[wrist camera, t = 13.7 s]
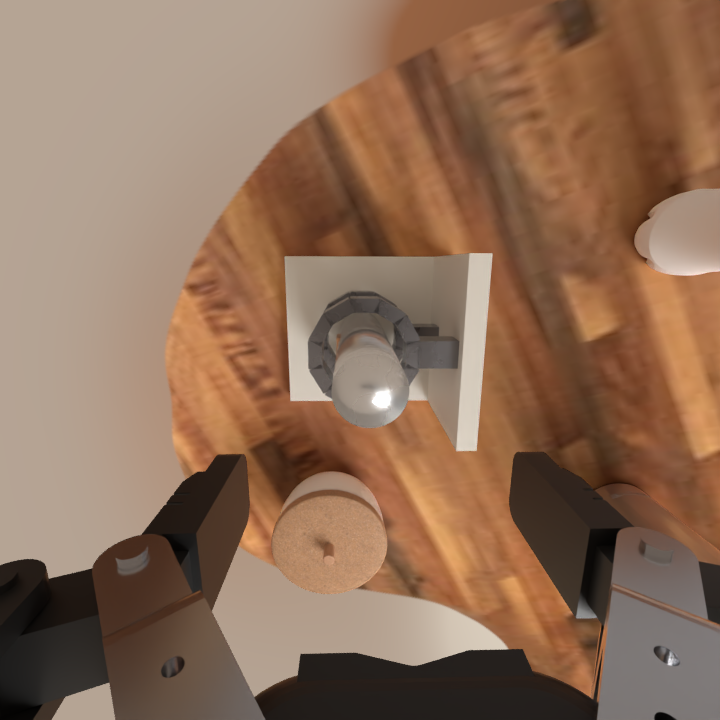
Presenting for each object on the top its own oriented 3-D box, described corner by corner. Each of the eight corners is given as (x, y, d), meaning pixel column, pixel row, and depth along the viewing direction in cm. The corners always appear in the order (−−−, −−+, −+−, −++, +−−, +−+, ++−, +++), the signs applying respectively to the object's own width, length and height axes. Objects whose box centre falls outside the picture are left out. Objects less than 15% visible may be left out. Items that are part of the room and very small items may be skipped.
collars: (434, 375, 37) (458, 407, 29) (318, 376, 37) (309, 408, 29) (438, 290, 35) (465, 298, 27) (316, 290, 35) (306, 298, 27)
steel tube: (382, 311, 37) (410, 353, 20) (381, 352, 38) (408, 427, 20) (339, 311, 37) (328, 353, 19) (339, 352, 38) (330, 428, 20)
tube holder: (445, 395, 41) (486, 450, 29) (292, 396, 40) (267, 452, 28) (454, 257, 37) (504, 253, 25) (287, 256, 37) (256, 252, 25)
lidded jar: (332, 435, 42) (327, 483, 32) (400, 497, 44) (414, 559, 34) (264, 498, 43) (241, 561, 34) (333, 555, 45) (329, 629, 36)
